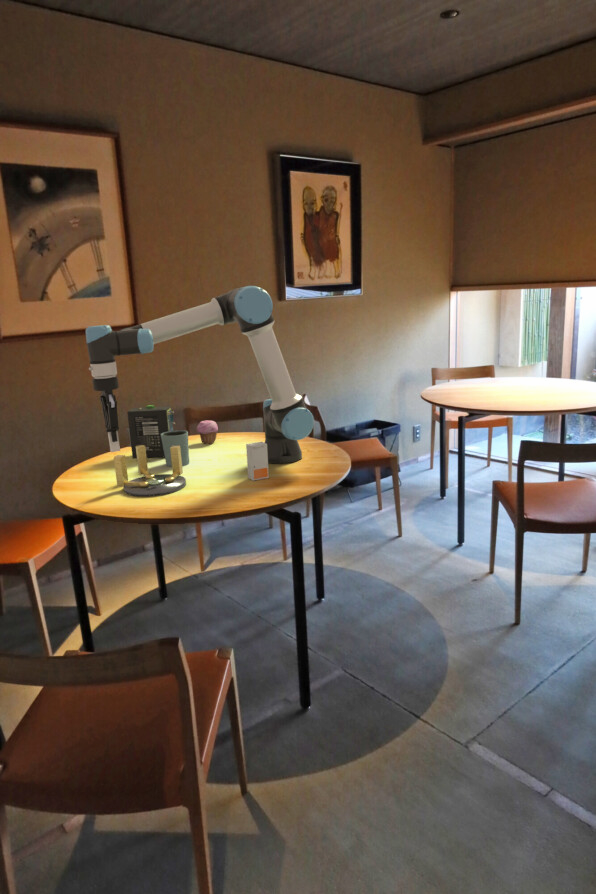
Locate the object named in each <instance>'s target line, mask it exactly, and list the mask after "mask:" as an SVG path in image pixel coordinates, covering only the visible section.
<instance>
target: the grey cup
mask: <svg viewBox="0 0 596 894" xmlns="http://www.w3.org/2000/svg"><path fill="white" fill-rule="evenodd" d="M161 439H162V444H163V449H164V455H165V457H164V460H165V464H166V465H165V466H167V467H168V468H169V467H170V468H172V460H171V451H170V448H171V447H172V446H180V449H181V460H182V467H185V466H187V465H189V464H190V455H189V432H188V430H182V429H179V430H178V429H177V430H173V431H168V432H164V433H162V434H161Z"/></svg>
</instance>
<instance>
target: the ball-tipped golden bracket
mask: <svg viewBox="0 0 596 894" xmlns="http://www.w3.org/2000/svg"><path fill="white" fill-rule="evenodd" d="M126 459H127V458H126V454H125V455H124V454H118V455H115V456H114V457H113V462H114V470H115V471H114V472H115V478H116V479H115V480H116V485H117V486H118V487H119V486H120V487H124V486H140V487H148V482H147V481H143V482H133V481H131V480H129V475H128V466H127V460H126Z"/></svg>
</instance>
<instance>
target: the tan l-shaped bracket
mask: <svg viewBox="0 0 596 894" xmlns="http://www.w3.org/2000/svg"><path fill="white" fill-rule="evenodd" d="M170 451H171V460H172V467H171V469H172V470H171V471H172V473H170V474H171V475H170V476H169V477H166V478H165V480H166V482H173V481H174V479H175V478H176V477H177V476H178V475H179V476H182V475H183V466H182V460H181V449H180V446H172V447H171V448H170Z"/></svg>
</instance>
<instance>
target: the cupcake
mask: <svg viewBox="0 0 596 894" xmlns="http://www.w3.org/2000/svg"><path fill="white" fill-rule="evenodd" d="M196 431H197V433H199V437H200V442H201V443H202V444H205V445H212V444H214V443H215V441H217V440H216V439H217V433H218V432H219V428H218V424H217V422H216V421H214V420H207V419H206V420H201V421H200V422H199V423H198V425H197V426H196Z"/></svg>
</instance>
